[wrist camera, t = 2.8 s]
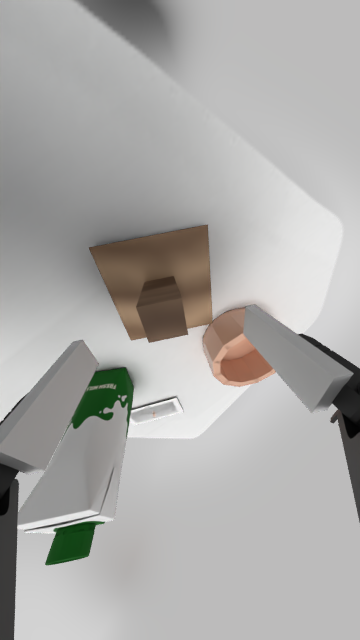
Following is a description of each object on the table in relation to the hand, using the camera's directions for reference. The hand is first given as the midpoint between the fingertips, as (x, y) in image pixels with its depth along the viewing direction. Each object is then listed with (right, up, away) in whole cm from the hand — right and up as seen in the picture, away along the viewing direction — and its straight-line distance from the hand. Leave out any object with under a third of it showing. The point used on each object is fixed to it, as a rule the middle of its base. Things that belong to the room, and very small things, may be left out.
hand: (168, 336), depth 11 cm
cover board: (-2, +6, +9) cm, 11 cm away
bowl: (+12, -2, +17) cm, 21 cm away
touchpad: (-6, -23, +28) cm, 37 cm away
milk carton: (-14, -12, +19) cm, 26 cm away
